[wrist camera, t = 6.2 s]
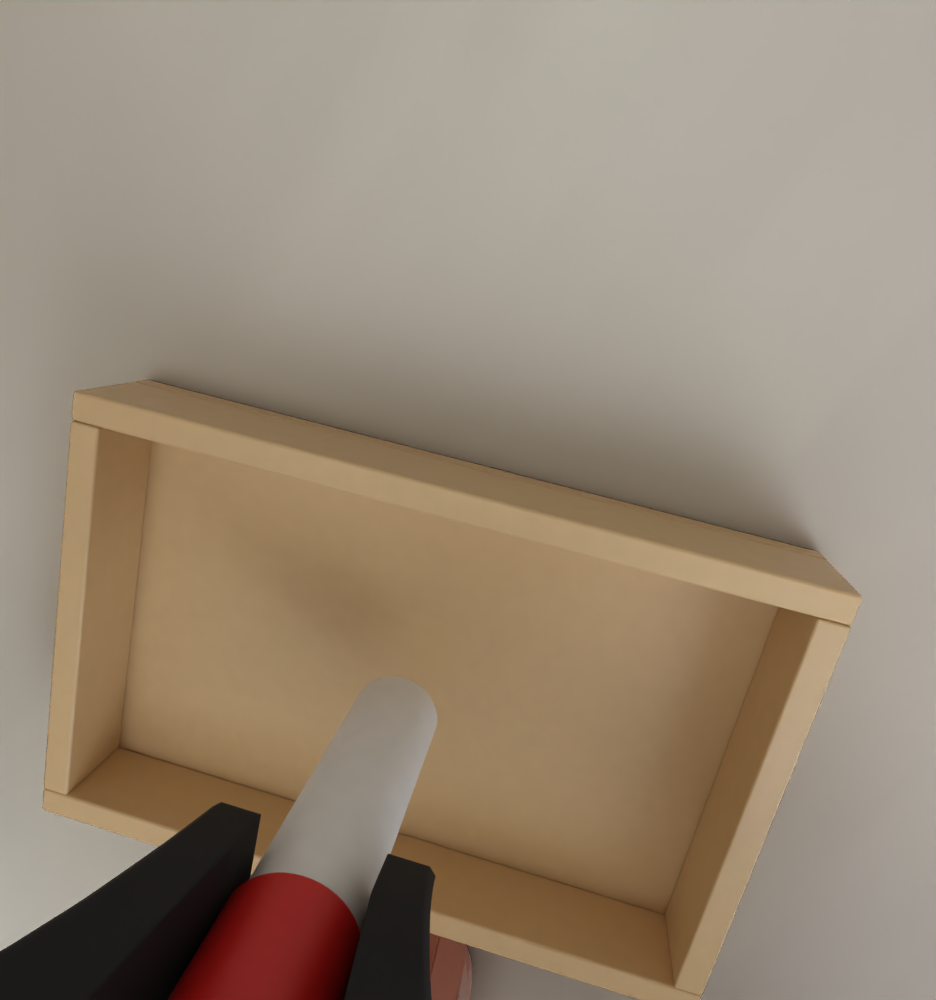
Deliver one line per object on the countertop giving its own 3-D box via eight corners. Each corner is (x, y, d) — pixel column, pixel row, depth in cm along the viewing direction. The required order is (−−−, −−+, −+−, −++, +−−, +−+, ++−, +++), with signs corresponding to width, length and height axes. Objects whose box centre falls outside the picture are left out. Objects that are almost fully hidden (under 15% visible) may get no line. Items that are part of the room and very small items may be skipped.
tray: (679, 923, 18) (693, 1019, 15) (108, 748, 19) (40, 810, 17) (821, 552, 15) (865, 596, 13) (146, 378, 17) (71, 390, 14)
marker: (431, 765, 15) (273, 1229, 8) (343, 739, 15) (101, 1167, 8) (451, 685, 15) (303, 1096, 7) (360, 659, 15) (118, 1032, 7)
